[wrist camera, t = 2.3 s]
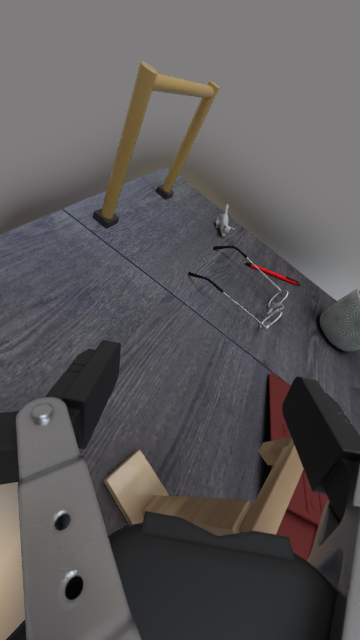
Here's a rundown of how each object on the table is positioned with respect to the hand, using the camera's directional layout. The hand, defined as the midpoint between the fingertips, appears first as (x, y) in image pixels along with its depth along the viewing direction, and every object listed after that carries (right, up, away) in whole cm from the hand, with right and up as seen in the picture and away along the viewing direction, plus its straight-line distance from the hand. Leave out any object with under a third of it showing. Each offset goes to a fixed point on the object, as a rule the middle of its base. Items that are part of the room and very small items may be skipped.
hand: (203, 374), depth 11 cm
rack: (-10, +26, +39) cm, 48 cm away
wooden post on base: (-3, -15, +14) cm, 21 cm away
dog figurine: (+9, +25, +49) cm, 56 cm away
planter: (+37, -1, +49) cm, 61 cm away
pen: (+22, +14, +50) cm, 57 cm away
